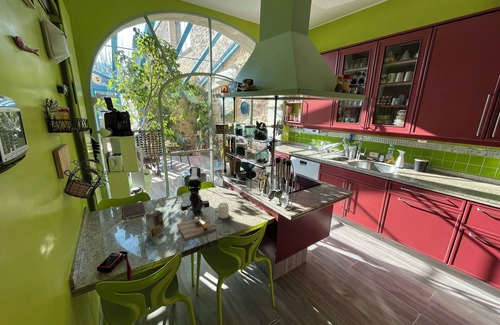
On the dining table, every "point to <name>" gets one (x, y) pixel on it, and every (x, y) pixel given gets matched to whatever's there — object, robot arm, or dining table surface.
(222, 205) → the mug
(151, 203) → the dining table surface
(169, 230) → the dining table surface
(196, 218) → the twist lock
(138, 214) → the hardcover book
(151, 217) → the coffee box
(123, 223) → the dining table surface
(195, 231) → the lock base
